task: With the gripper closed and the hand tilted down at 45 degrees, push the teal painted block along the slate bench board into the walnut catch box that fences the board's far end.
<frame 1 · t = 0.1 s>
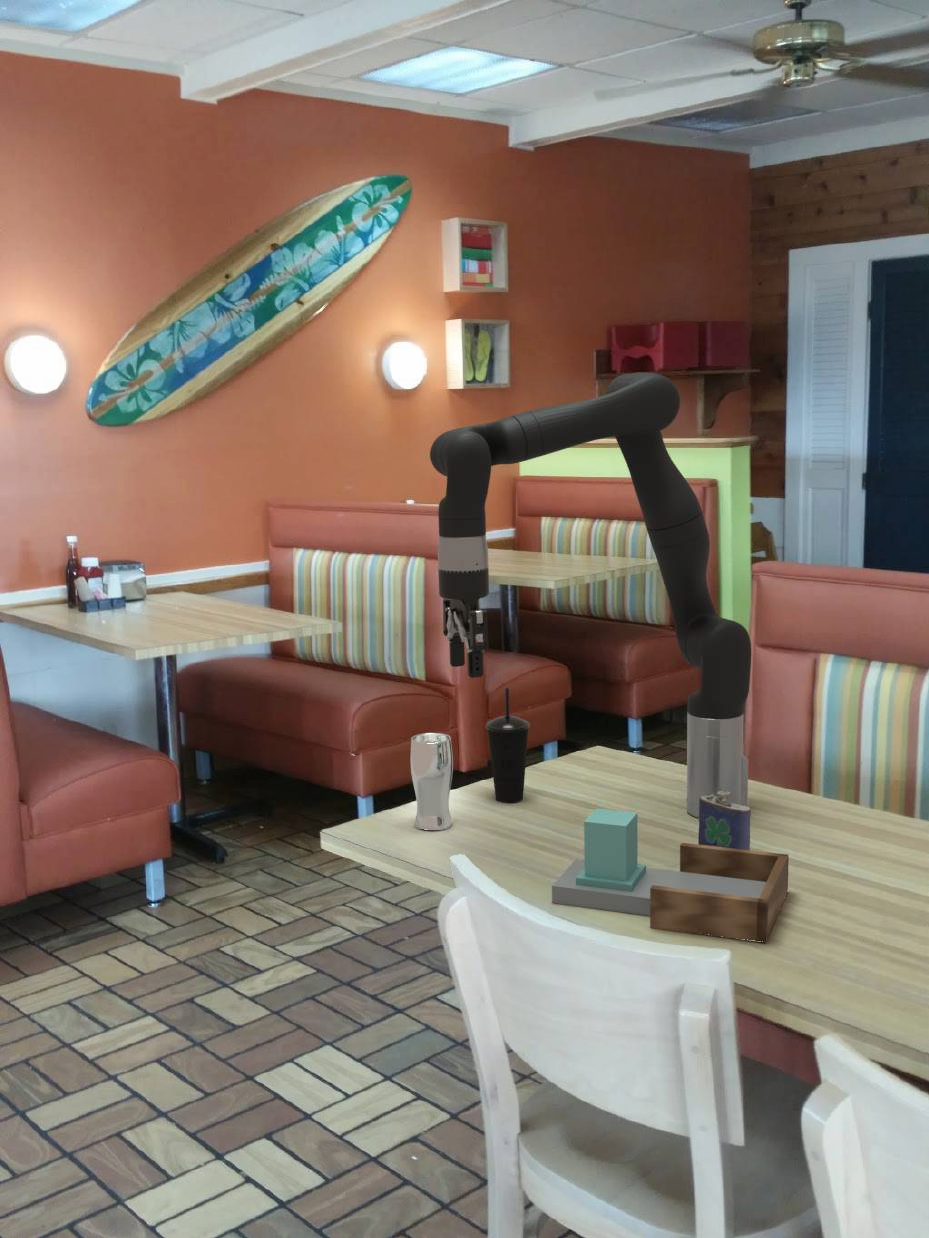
hand: (466, 671, 195), 29 cm above the table, tool pointing down, fingers open, 8 cm apart
beer glass: (433, 826, 214), on the table
flask: (722, 860, 196), on the table
drinking cup: (509, 799, 227), on the table
bench board: (659, 900, 180), on the table
teal block: (611, 877, 182), point 2 cm above the table, touching bench board
catch box: (716, 908, 177), on the table
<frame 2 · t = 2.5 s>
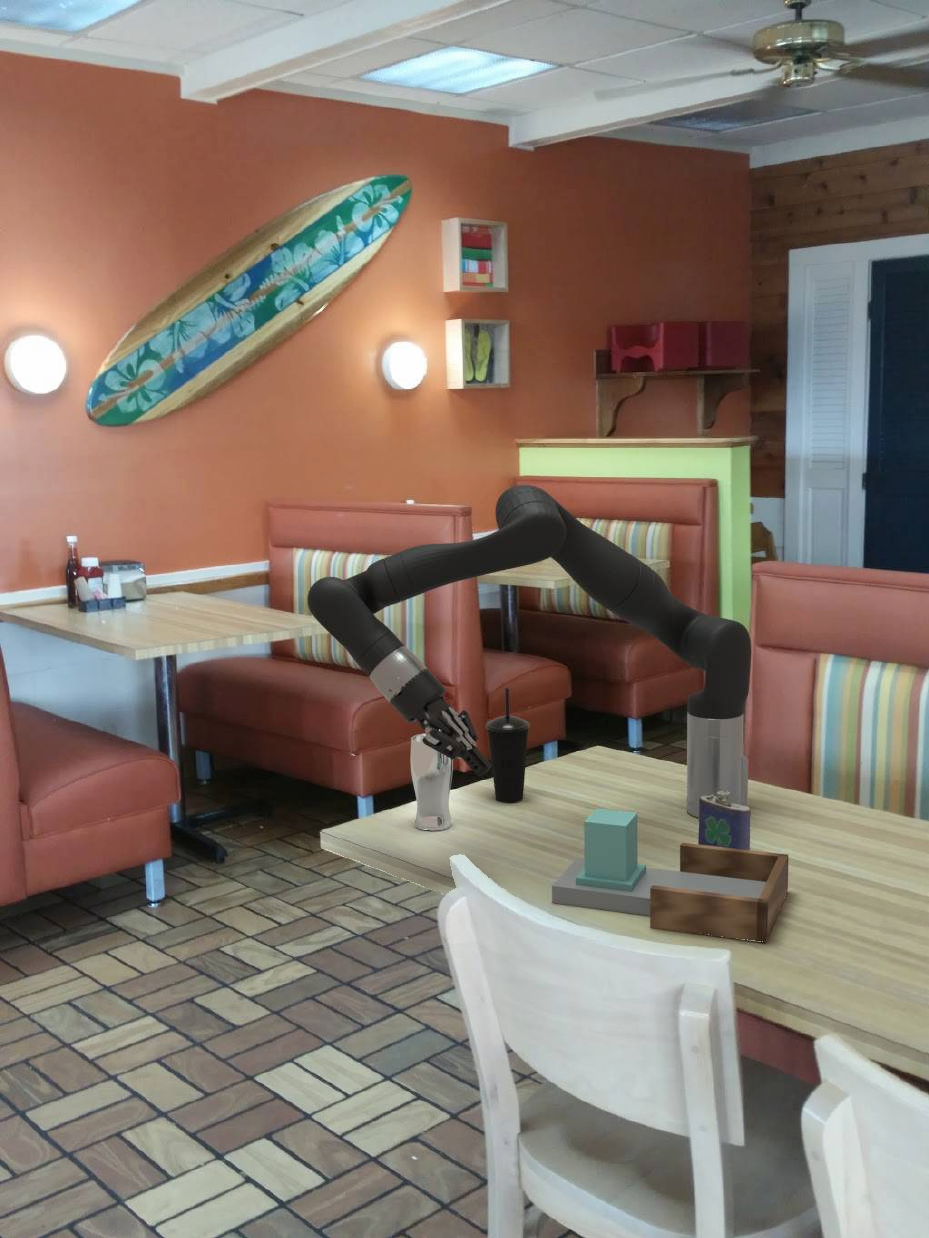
hand: (486, 771, 187), 16 cm above the table, tool tilted 45°, fingers closed
nothing on the table moved.
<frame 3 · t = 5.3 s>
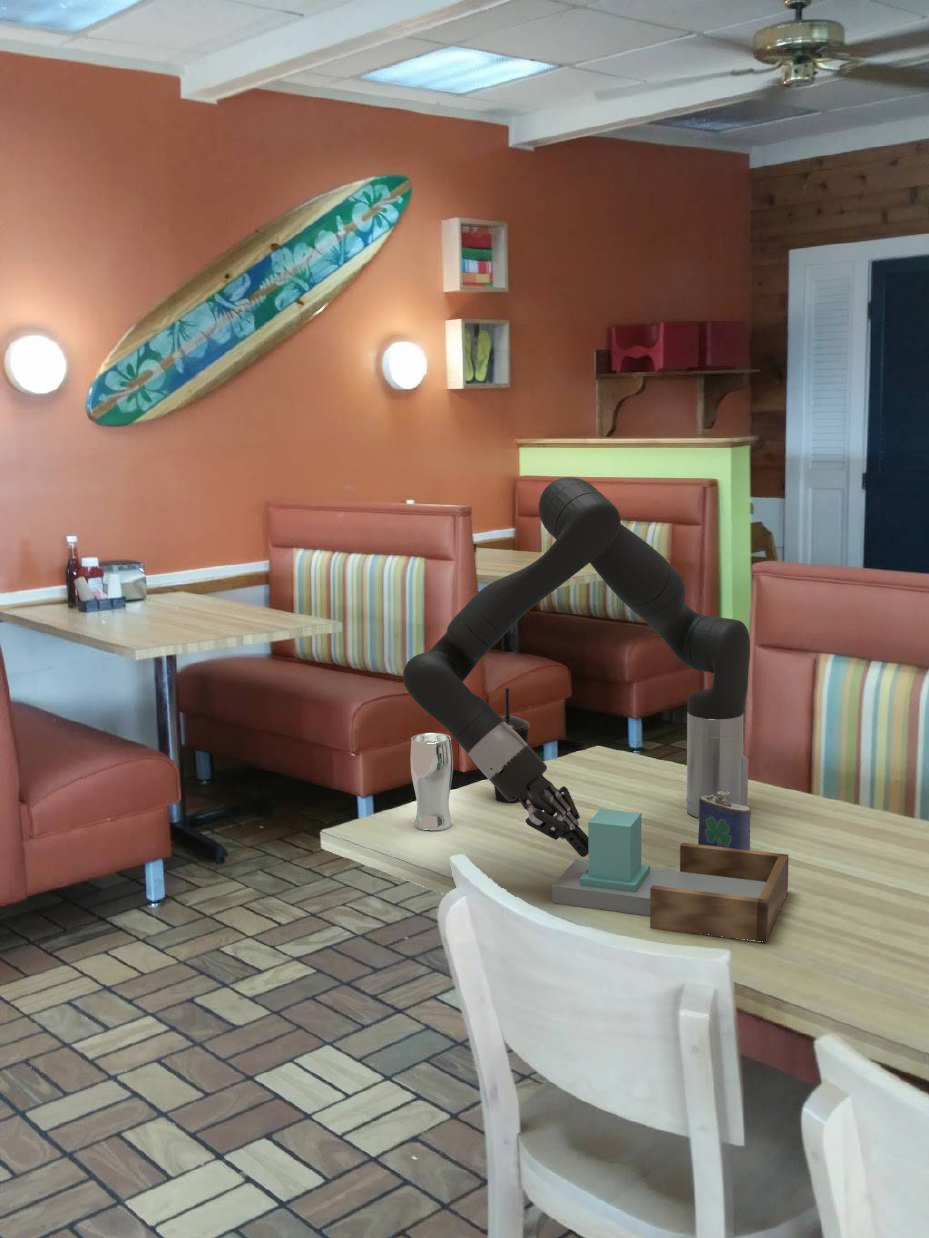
hand: (589, 852, 182), 6 cm above the table, tool tilted 45°, fingers closed
teal block: (615, 878, 182), point 3 cm above the table, touching gripper
everything else where it was.
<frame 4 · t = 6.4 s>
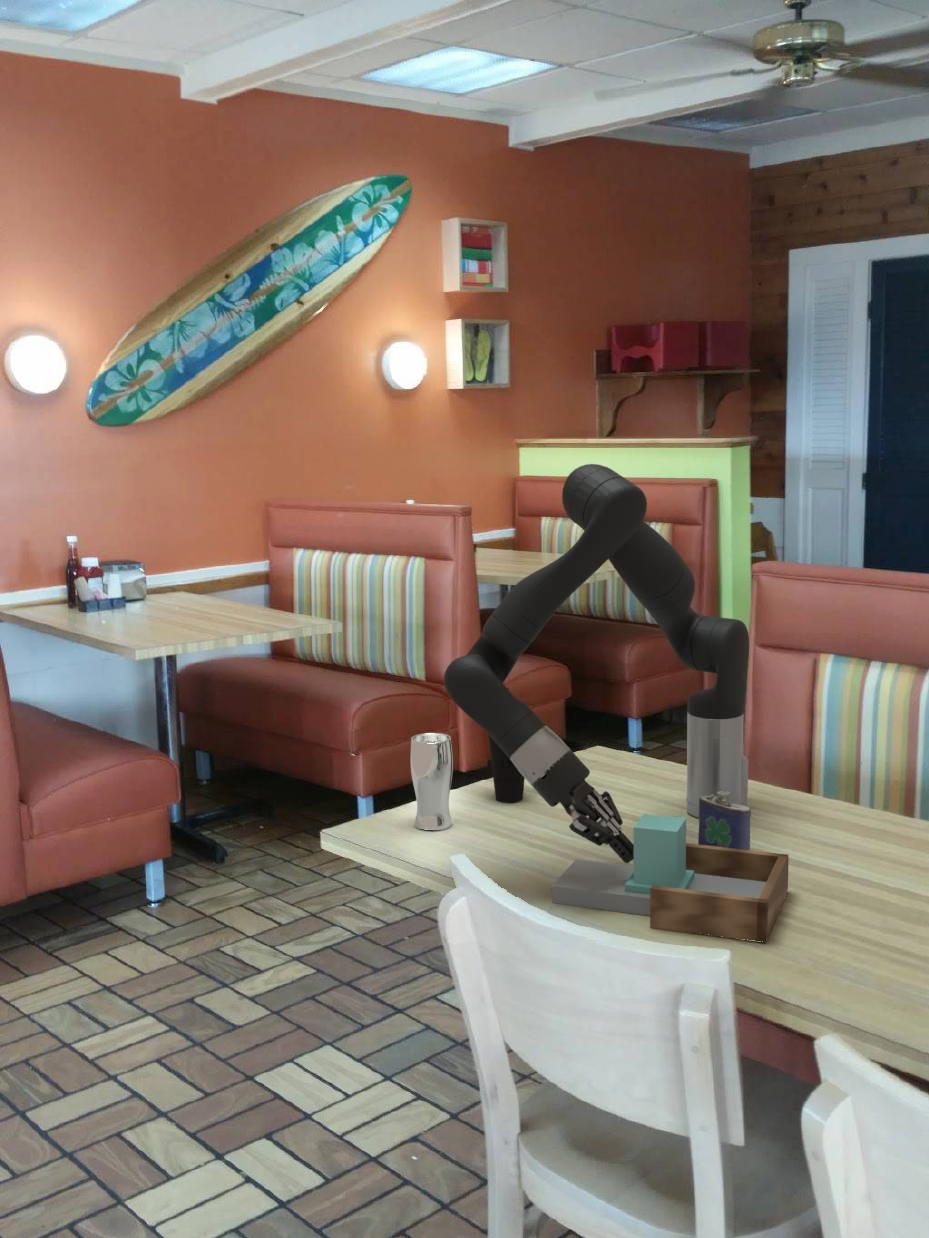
hand: (633, 858, 179), 6 cm above the table, tool tilted 45°, fingers closed
teal block: (659, 884, 180), point 3 cm above the table, touching bench board, gripper
everything else where it was.
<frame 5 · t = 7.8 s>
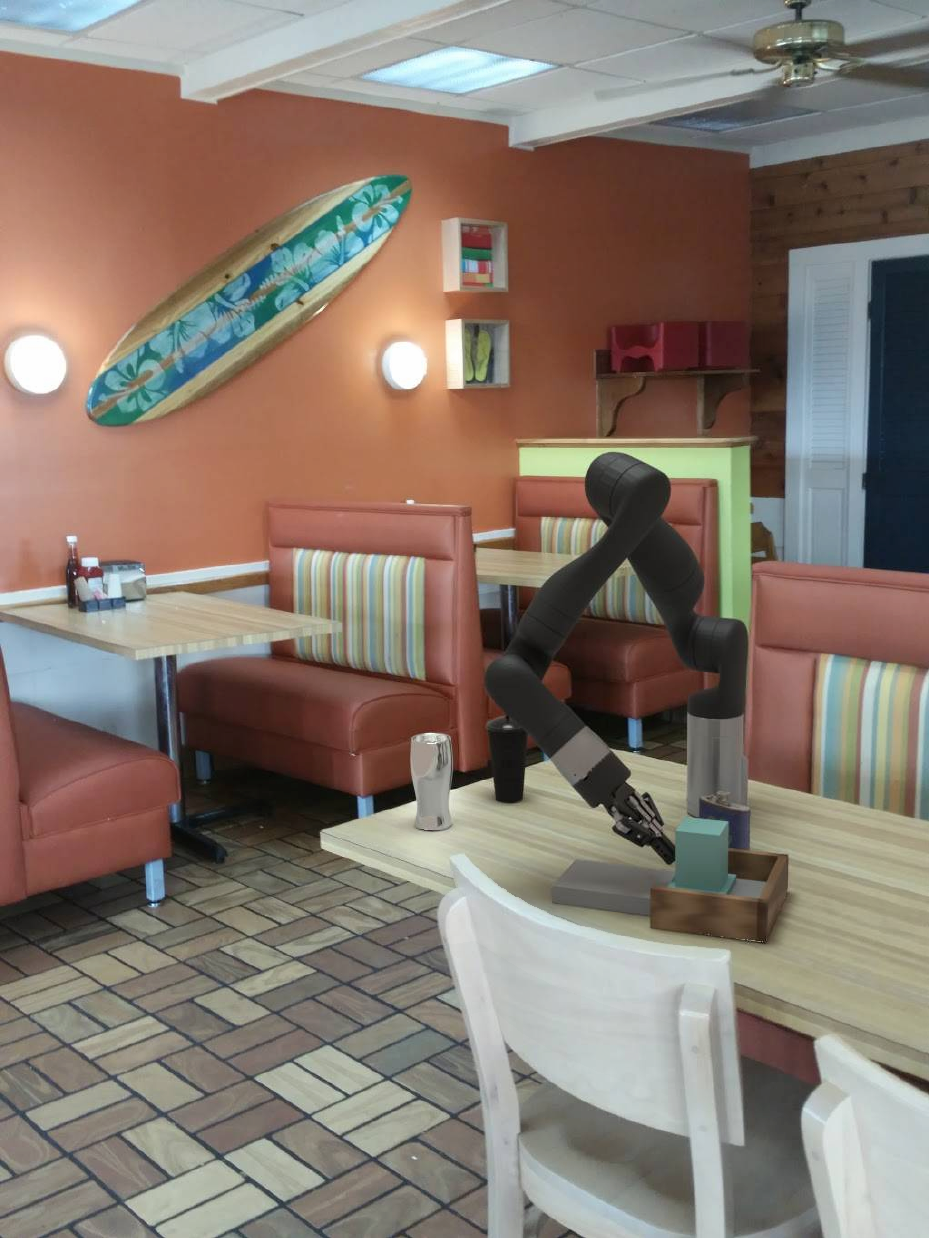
hand: (675, 859, 178), 6 cm above the table, tool tilted 45°, fingers closed
teal block: (701, 888, 178), point 3 cm above the table, touching bench board, gripper
everything else where it was.
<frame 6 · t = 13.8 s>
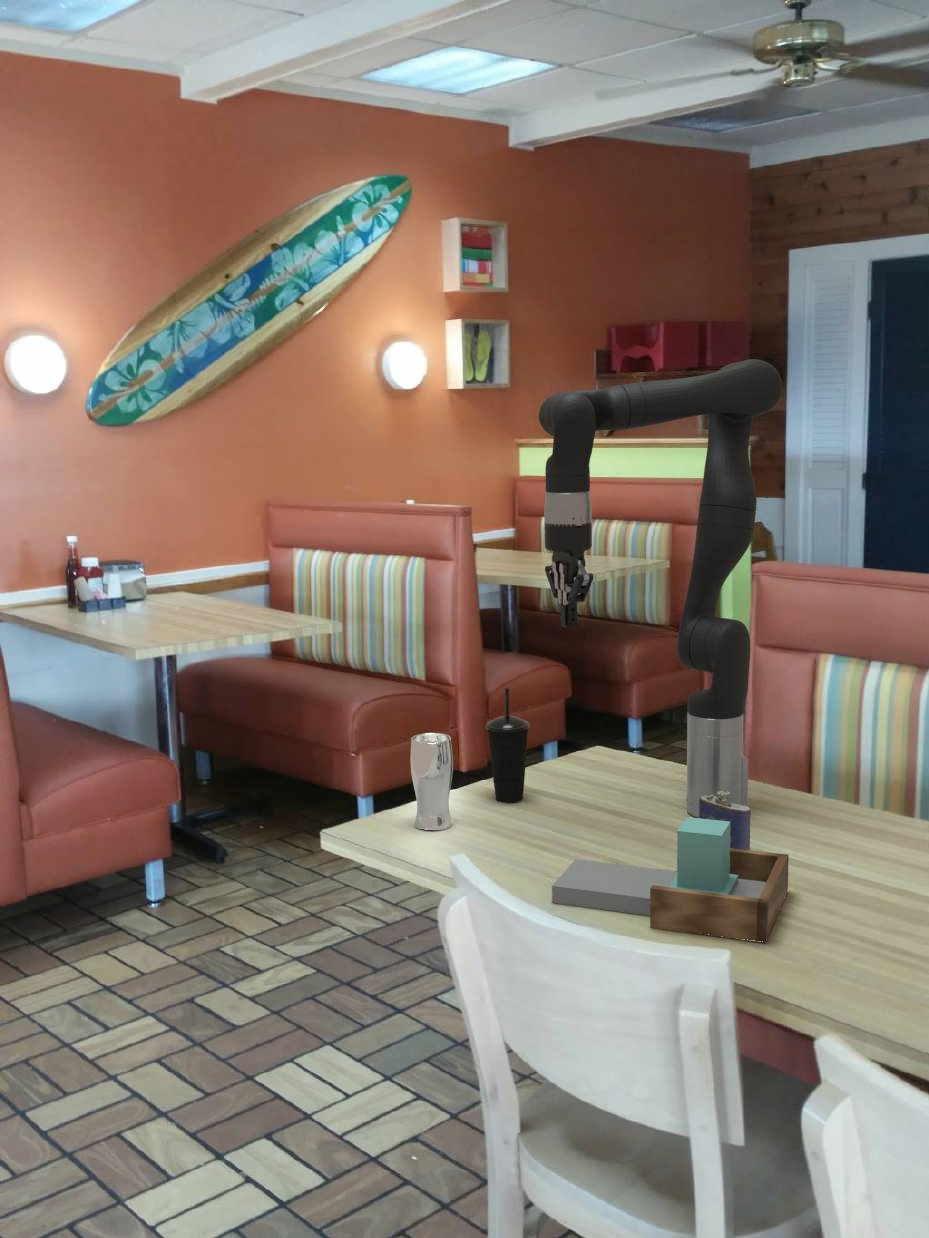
hand: (569, 626, 208), 33 cm above the table, tool pointing down, fingers closed
teal block: (703, 888, 178), point 2 cm above the table, touching bench board
everything else where it was.
at the end: teal block 2.0 cm from the catch box (horizontally); teal block moved 13.1 cm from its start; teal block tilted 0° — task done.
